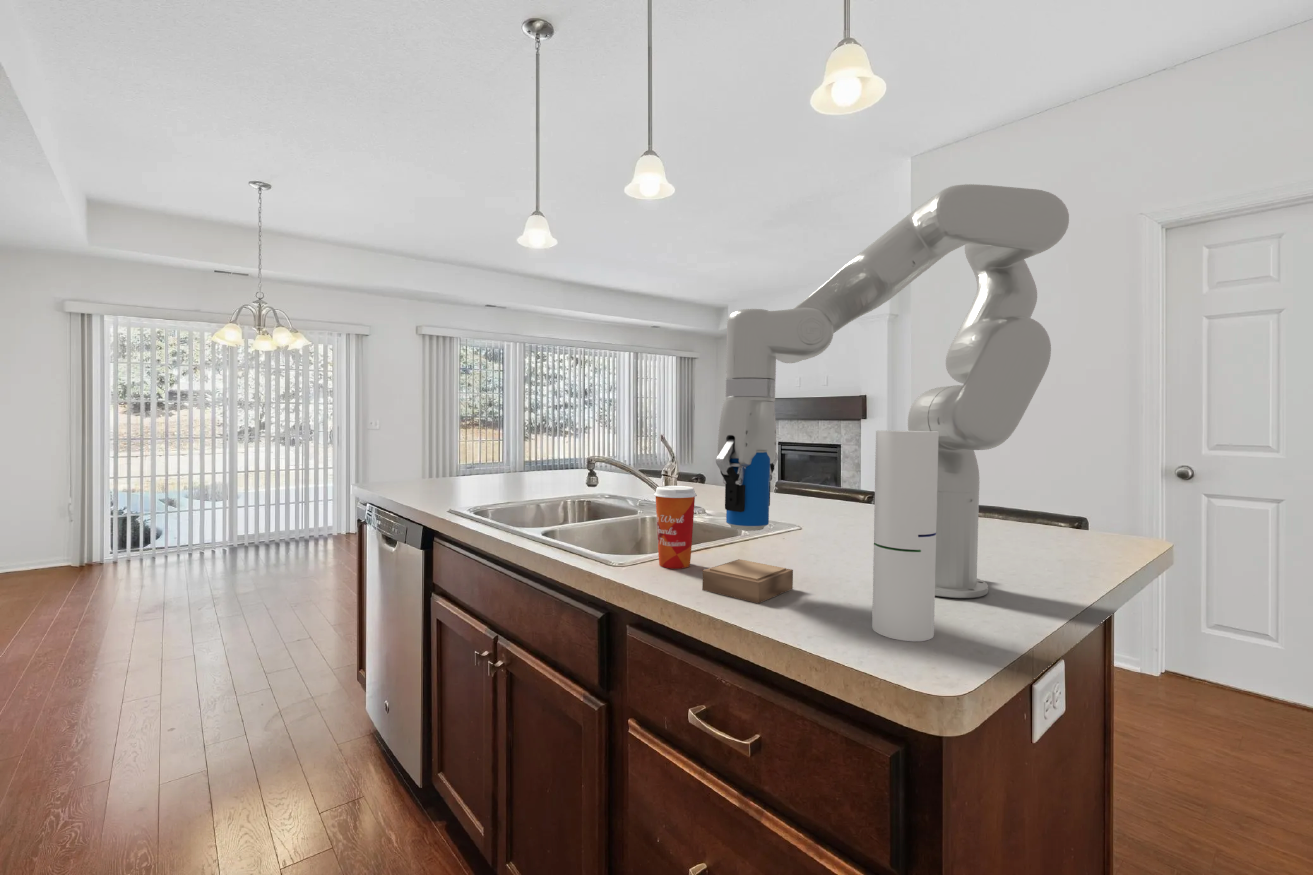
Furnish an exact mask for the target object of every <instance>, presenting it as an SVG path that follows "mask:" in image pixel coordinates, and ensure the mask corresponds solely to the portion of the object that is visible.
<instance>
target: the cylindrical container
mask: <svg viewBox="0 0 1313 875" xmlns="http://www.w3.org/2000/svg"><path fill="white" fill-rule="evenodd" d="M938 434H939V432H937V431H908V430H875V460H874V461H875V466H874V468H875V469H874V509H873V510H874V514H873V515H874V518H873V519H874V520H873V526H874V527H873V560H872V561H873V564H872V565H873V566H872V569H873V570H872V608H871V609H872V612H871V613H872V614H871V616H872V620H871V625H872V626H871V628H872V630H873V631H874V632H875V633H877V634H879V635H881V636H884V637H886V638H889V639H894V640H898V641H904V642H924V641H929V640H932V639H933V638H934V636H935V600H936V599H935V597H936V596H935V564H936V520H937V478H938Z"/></svg>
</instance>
